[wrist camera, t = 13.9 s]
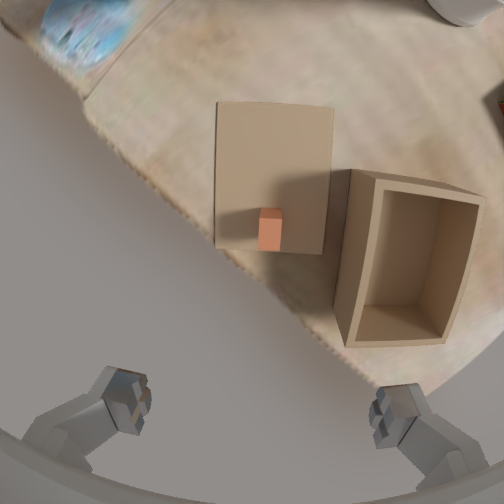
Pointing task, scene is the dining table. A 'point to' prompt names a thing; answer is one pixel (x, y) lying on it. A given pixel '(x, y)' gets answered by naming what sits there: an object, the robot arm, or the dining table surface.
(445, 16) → the vodka
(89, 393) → the robot arm
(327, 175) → the box lid
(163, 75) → the dining table surface
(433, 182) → the brown carton
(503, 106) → the carton
